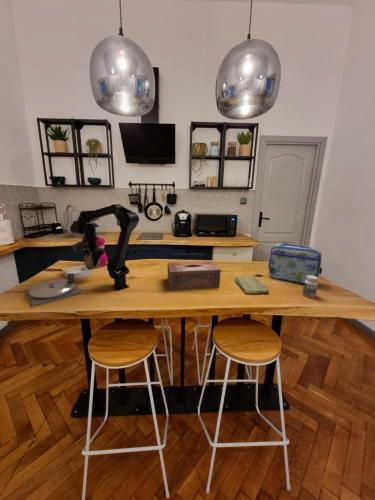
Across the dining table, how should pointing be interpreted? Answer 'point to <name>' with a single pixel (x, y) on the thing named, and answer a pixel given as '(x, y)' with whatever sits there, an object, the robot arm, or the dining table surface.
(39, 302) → the crank board
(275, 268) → the lunch box
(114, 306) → the dining table surface
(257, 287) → the washcloth
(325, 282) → the dining table surface
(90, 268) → the block
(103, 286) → the dining table surface
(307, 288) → the pill bottle
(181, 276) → the tissue box cover
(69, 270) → the tray
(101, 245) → the pepper mill
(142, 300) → the dining table surface
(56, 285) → the crank
